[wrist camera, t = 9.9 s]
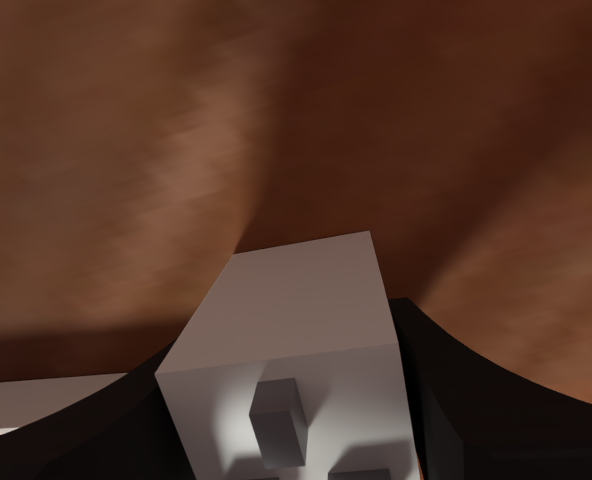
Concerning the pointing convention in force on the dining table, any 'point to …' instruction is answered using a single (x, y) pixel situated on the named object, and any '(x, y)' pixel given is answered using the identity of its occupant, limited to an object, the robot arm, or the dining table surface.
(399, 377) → the plug
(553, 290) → the dining table surface
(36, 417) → the socket plate
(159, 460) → the robot arm
